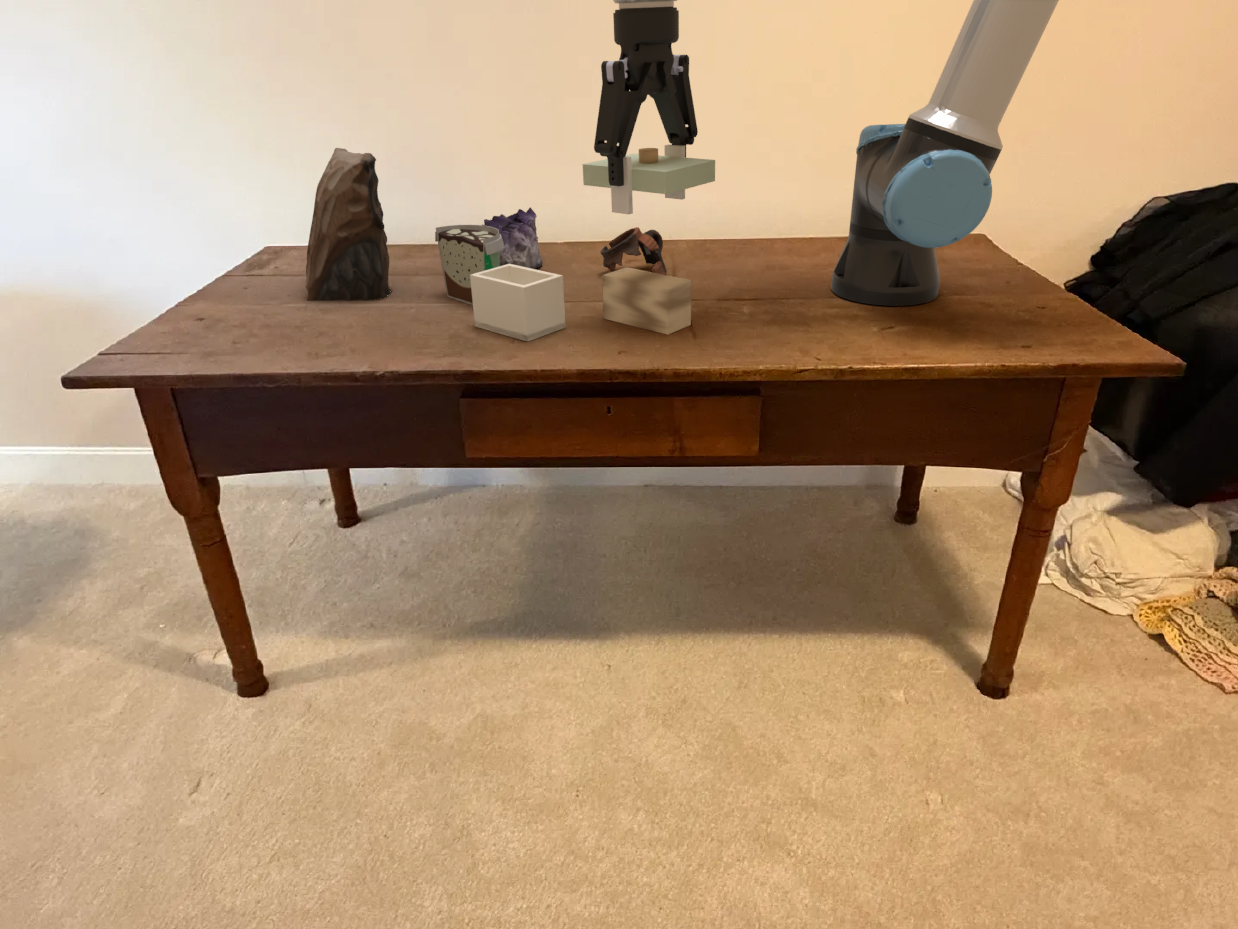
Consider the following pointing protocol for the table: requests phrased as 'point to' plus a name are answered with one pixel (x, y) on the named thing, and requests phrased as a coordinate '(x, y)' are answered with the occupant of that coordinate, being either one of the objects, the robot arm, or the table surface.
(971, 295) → the table surface
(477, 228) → the food container
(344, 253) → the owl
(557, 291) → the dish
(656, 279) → the marbled stone block
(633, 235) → the pottery mug
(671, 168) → the lid
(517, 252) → the geode
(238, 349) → the table surface
